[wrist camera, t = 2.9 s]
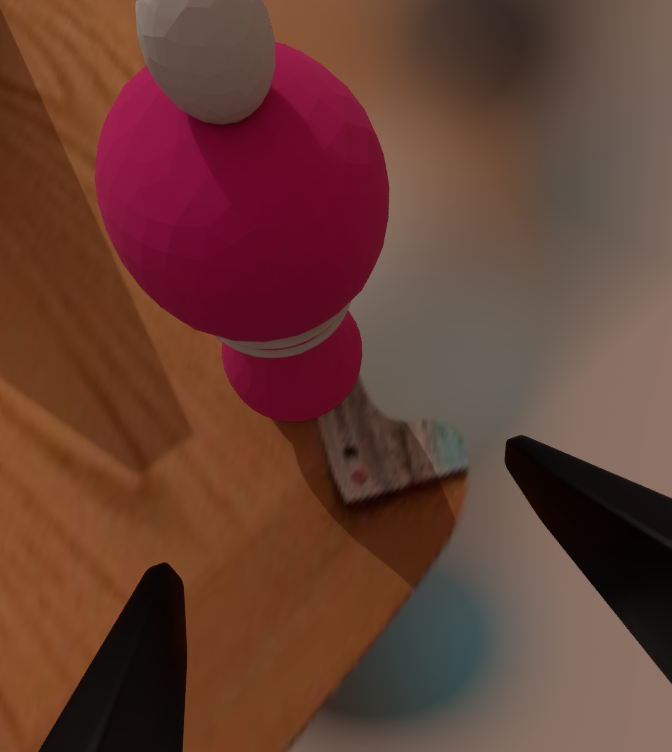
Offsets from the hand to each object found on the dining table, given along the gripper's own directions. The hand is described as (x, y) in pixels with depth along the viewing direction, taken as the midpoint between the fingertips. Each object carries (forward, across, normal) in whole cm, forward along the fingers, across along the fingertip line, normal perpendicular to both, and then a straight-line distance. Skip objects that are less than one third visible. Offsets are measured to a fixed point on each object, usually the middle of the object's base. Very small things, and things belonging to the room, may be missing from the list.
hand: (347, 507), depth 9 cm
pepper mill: (+14, 0, +5) cm, 15 cm away
